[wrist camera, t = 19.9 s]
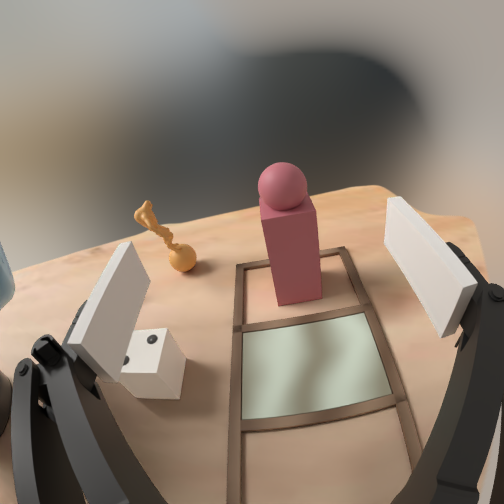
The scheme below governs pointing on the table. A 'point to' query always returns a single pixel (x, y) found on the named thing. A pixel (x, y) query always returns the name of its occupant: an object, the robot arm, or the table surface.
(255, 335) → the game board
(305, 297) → the pawn
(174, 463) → the table surface
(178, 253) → the figurine
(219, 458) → the table surface
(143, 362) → the die
